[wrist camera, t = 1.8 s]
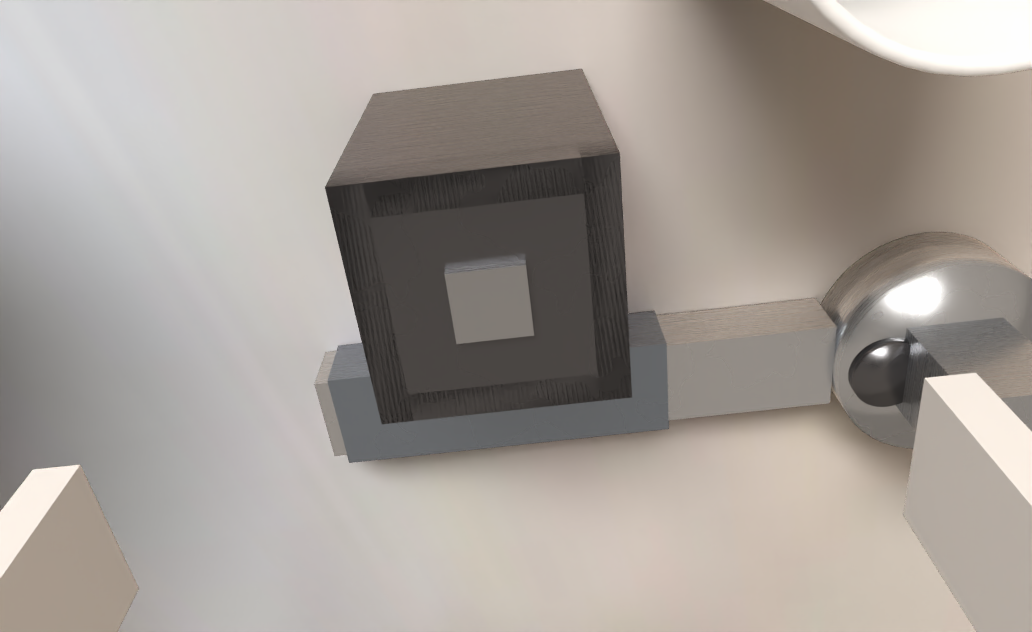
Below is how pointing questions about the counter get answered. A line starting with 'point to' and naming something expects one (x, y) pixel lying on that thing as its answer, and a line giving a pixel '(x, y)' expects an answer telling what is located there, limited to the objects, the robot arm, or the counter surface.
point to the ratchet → (761, 358)
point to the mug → (929, 32)
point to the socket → (485, 247)
